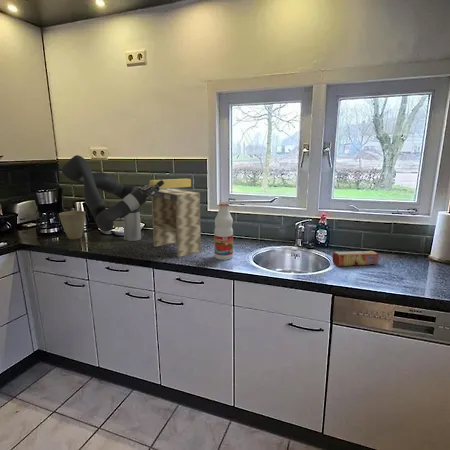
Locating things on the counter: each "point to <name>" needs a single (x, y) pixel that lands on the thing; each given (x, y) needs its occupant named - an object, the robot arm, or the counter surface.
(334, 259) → the snack package
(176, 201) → the beige zigzag patterned stand
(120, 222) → the food container
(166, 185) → the spaghetti box
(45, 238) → the counter surface
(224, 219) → the fruit juice
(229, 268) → the counter surface
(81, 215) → the plant pot
